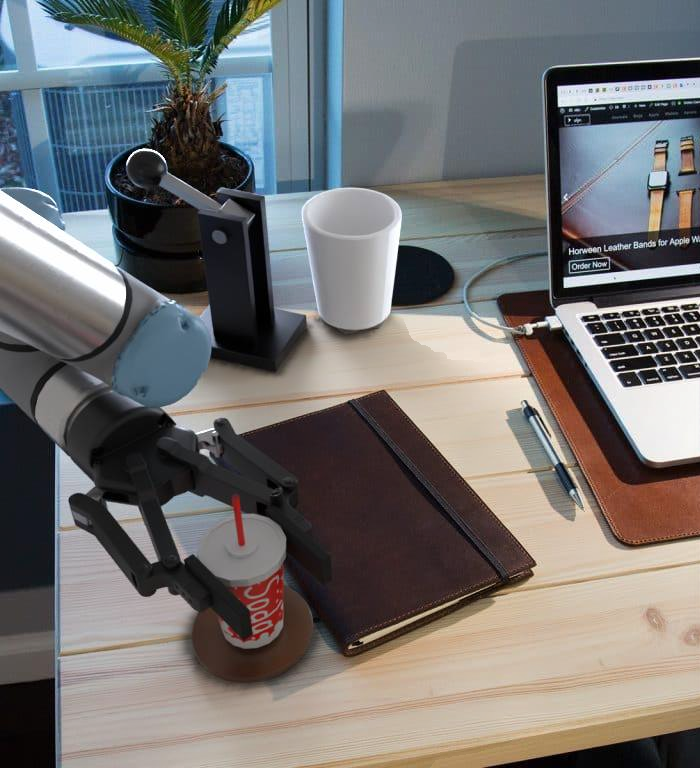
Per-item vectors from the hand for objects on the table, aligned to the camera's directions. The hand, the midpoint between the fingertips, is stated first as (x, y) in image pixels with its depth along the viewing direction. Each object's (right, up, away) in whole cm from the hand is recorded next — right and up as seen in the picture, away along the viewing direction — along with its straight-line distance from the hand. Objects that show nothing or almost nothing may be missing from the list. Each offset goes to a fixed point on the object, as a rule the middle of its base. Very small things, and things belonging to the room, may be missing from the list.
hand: (287, 597), depth 71 cm
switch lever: (-16, +31, +27) cm, 44 cm away
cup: (-1, +22, +40) cm, 46 cm away
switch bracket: (-12, +19, +35) cm, 42 cm away
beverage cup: (-4, -4, +8) cm, 10 cm away
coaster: (-4, -4, +8) cm, 10 cm away
